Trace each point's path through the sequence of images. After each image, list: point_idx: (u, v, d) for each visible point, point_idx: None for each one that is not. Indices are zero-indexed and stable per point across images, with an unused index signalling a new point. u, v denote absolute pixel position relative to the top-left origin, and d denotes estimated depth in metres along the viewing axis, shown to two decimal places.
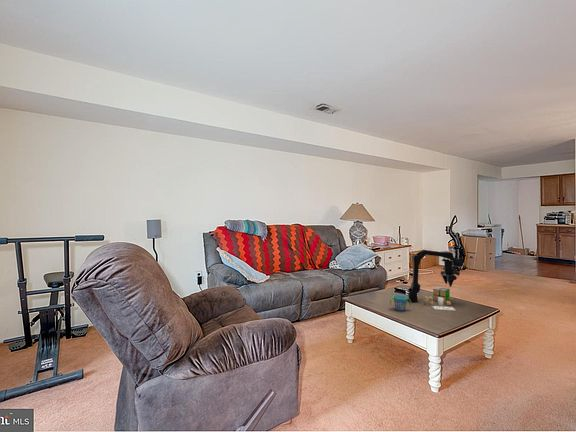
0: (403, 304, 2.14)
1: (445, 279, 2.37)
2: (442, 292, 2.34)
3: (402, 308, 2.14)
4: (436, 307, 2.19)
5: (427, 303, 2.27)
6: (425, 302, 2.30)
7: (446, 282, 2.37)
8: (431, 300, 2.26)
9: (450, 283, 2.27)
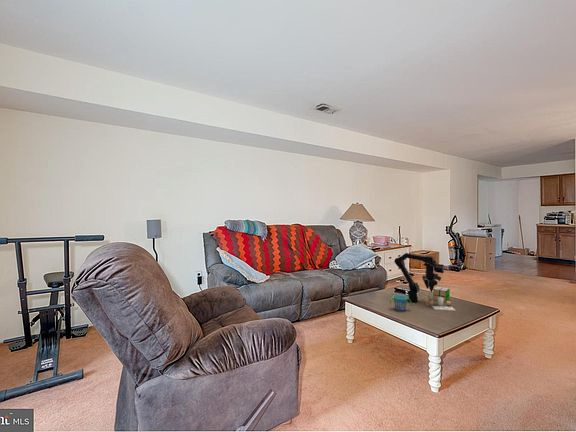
0: (403, 304, 2.14)
1: (426, 284, 2.33)
2: (442, 292, 2.34)
3: (402, 308, 2.14)
4: (436, 307, 2.19)
5: (427, 303, 2.27)
6: (425, 302, 2.30)
7: (427, 287, 2.33)
8: (431, 300, 2.26)
9: (431, 288, 2.23)
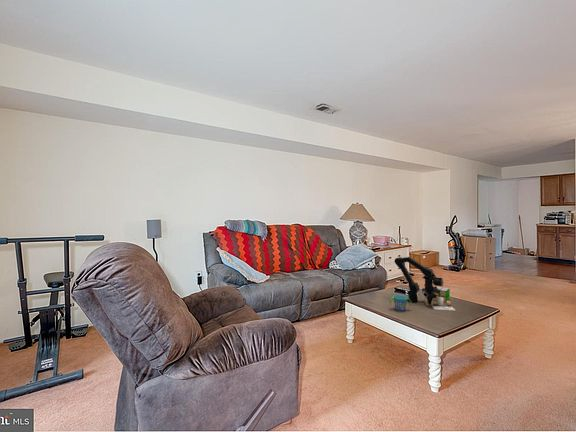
0: (403, 304, 2.14)
1: None
2: (442, 292, 2.34)
3: (402, 308, 2.14)
4: (436, 307, 2.19)
5: (427, 303, 2.27)
6: (425, 302, 2.30)
7: None
8: None
9: (429, 301, 2.25)
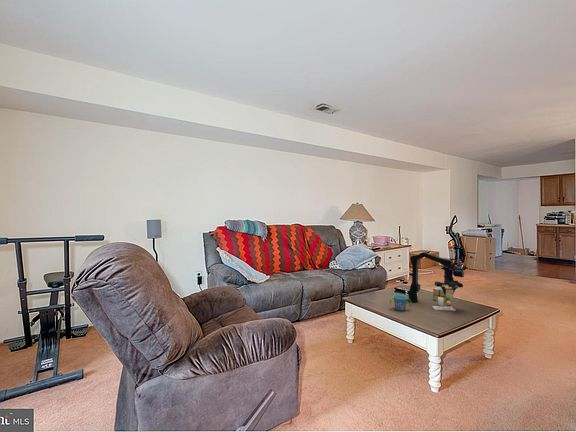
0: (403, 304, 2.14)
1: None
2: (442, 292, 2.34)
3: (402, 308, 2.14)
4: (436, 307, 2.19)
5: None
6: None
7: None
8: (445, 291, 2.16)
9: (443, 291, 2.19)
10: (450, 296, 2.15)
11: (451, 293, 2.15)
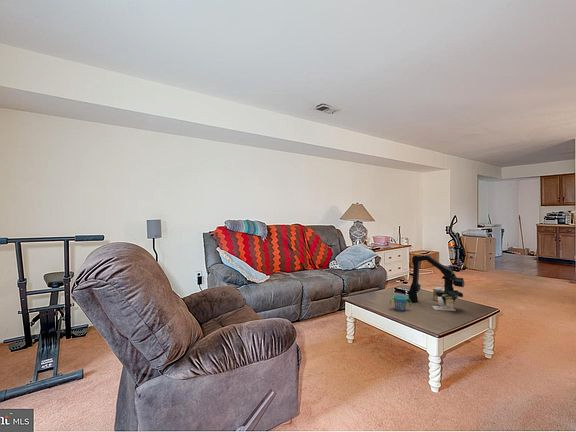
0: (403, 304, 2.14)
1: None
2: None
3: (402, 308, 2.14)
4: (436, 307, 2.19)
5: None
6: None
7: None
8: (445, 301, 2.16)
9: (443, 300, 2.19)
10: (450, 305, 2.15)
11: (451, 303, 2.15)
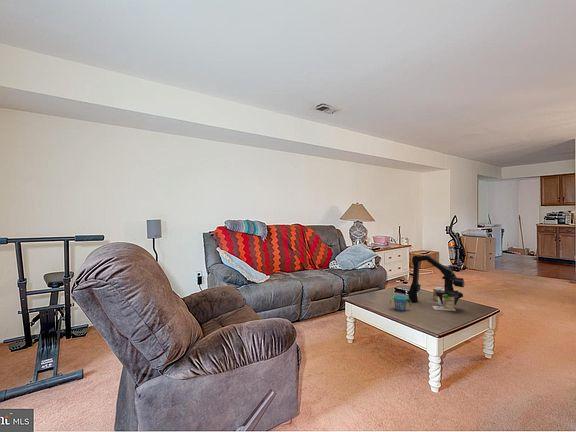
0: (403, 304, 2.14)
1: (454, 300, 2.17)
2: None
3: (402, 308, 2.14)
4: (436, 307, 2.19)
5: (444, 305, 2.20)
6: None
7: (454, 303, 2.17)
8: (445, 302, 2.16)
9: (440, 300, 2.19)
10: (450, 307, 2.15)
11: (451, 304, 2.15)
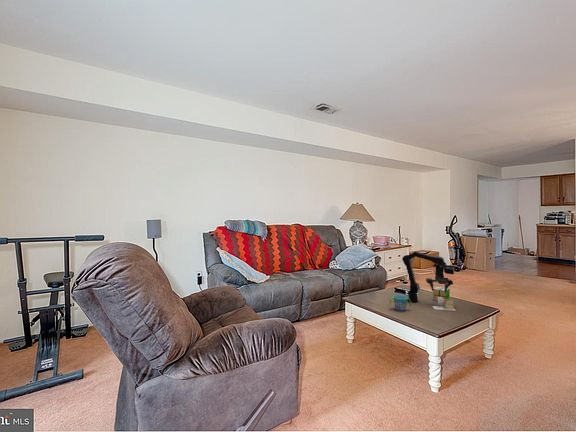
0: (403, 304, 2.14)
1: (445, 287, 2.25)
2: (442, 292, 2.34)
3: (402, 308, 2.14)
4: (436, 307, 2.19)
5: (444, 304, 2.20)
6: None
7: None
8: (445, 302, 2.16)
9: (431, 287, 2.26)
10: (450, 307, 2.15)
11: (451, 305, 2.15)
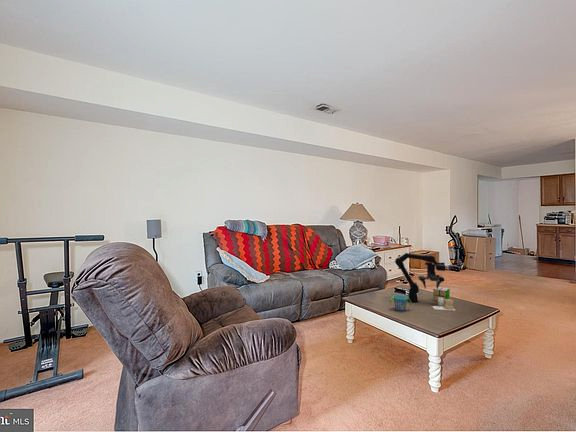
0: (403, 304, 2.14)
1: (436, 284, 2.32)
2: (442, 292, 2.34)
3: (402, 308, 2.14)
4: (436, 307, 2.19)
5: (444, 304, 2.20)
6: None
7: None
8: (445, 302, 2.16)
9: (423, 284, 2.33)
10: (450, 307, 2.15)
11: (451, 305, 2.15)
